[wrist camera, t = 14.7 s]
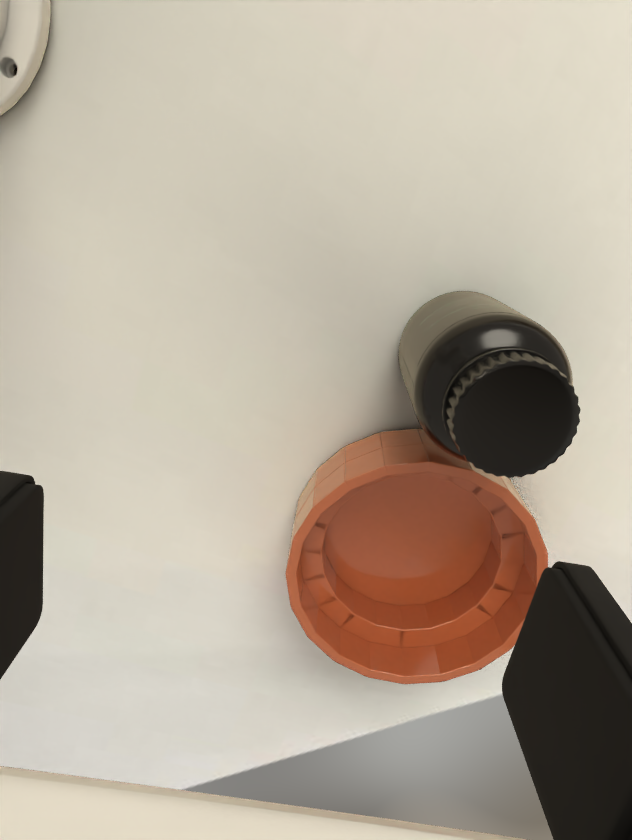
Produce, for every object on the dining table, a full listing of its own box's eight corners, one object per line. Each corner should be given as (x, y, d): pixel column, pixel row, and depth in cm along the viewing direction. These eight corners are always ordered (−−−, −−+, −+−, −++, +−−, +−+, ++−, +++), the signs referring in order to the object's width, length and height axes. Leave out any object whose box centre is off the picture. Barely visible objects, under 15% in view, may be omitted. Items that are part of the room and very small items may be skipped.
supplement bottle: (518, 402, 34) (604, 496, 23) (400, 412, 35) (428, 508, 23) (519, 283, 32) (615, 322, 21) (393, 295, 32) (420, 339, 21)
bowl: (318, 404, 35) (313, 438, 30) (550, 451, 35) (585, 492, 30) (277, 600, 39) (267, 658, 34) (481, 639, 40) (502, 703, 35)
